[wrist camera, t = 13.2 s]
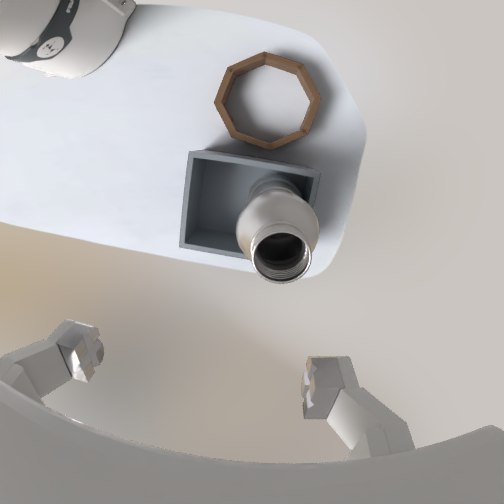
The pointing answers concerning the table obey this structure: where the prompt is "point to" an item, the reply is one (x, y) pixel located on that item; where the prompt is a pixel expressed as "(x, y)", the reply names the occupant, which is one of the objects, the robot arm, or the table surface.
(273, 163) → the bin
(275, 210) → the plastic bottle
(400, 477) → the robot arm
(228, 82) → the collar
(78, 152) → the table surface
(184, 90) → the table surface
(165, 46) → the table surface
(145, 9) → the table surface
